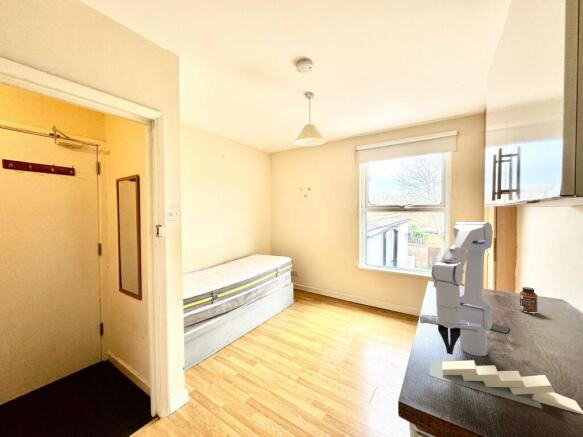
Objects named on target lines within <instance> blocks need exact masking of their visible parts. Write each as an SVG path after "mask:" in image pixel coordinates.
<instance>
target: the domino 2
mask: <svg viewBox="0 0 583 437" xmlns="http://www.w3.org/2000/svg"><path fill="white" fill-rule="evenodd" d="M497 371H498V374H499V377H500V380H501V381H484V383H485V386H486V387H525V385H524V383H523V380H522V378H521V377H522V376H521V373H520V372H519V370H497Z"/></svg>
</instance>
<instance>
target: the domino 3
mask: <svg viewBox="0 0 583 437" xmlns="http://www.w3.org/2000/svg"><path fill="white" fill-rule="evenodd" d="M521 378H522V380H523V383H524V385H525V387H510V390H511V391H512V393H513V395H516V394H534V393H552V392H554V393H556V391H555V389H554V388H553V386H552V384H551V383H550V381H549V380H548V378H547V376H546V375H545V374H539V375H530V376H529V375H527V376H521Z"/></svg>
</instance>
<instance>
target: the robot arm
mask: <svg viewBox="0 0 583 437" xmlns="http://www.w3.org/2000/svg"><path fill="white" fill-rule="evenodd" d="M452 232H453V236H454V242H453V245H452V246H449V247H447V248H446V250H445V252H444V254H443V255H442V257H441V259H440V261H438V262H436V263H434V264H433V265H432V267H431V268H432V269H431V272H430V273H431V274H430V275H431V279H432V281H433V287H434V288H435V294H436V295H435V300H436V302H435V303H436V315H431V314H420V315H419V323H421V324H430V325H436V326H437V331H438V333H439V335H440V336H441V338H442V341H443V343H444V346H445V348H446V354H448V355H452V356H453V355H454V349H455V346H456V343H457V344H458V345H459V349H461V350H462V351H464V352H465V353H468V354H470V355H473V356H479V357H483V356H484V357H485V356H487V355H488V337H487V331H490V330H489V329H491V327H492V323H493V324H494V322H493V321H494V316H493V308H492V306H491V304H490V303H488V302H487V301H486V300H485V299H484V298H482V297H483V296H482V295H483V282H484V281H483V279H484V277H483V276H484V260H485V253H486V250H487V249H490V248H492V244H493V233H494V232H493V225H492V224H491V223H490V222H489V221H480V222H479V221H478V222H477V221H476V222H475V221H474V222H470V221H469V222H463V221H461V222H460V221H457V222H456V223H454V225H453V231H452ZM464 267H465V270H464ZM464 272H465V273H464ZM464 274H465V275H464ZM464 276H465V277H464ZM463 279H464V291H463V294H462V295H461V293H460V290H461V287H460V285H461V284H462V282H463ZM449 337H450V338H449ZM458 339H459V341H458ZM457 341H458V342H457Z"/></svg>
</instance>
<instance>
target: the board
mask: <svg viewBox="0 0 583 437" xmlns="http://www.w3.org/2000/svg"><path fill="white" fill-rule="evenodd" d="M442 362H443V361H438V360H434V359H430V368H429V376H430V377H432V378H437V379H439V380H442V381H446V382H450V383H453V384H457V385H460V386H463V387H467V388H471V389H474V390H478V391H481V392H484V393H488V394H491V395H495V396H497V397H501V398H505V399H508V400H512V401H515V402H518V403H521V404H526V405H528V406H531V407H536V408H539V409H541V410H542V409H544V408H543V405H542V403H541V402H538V401H536V400H533V399H532V397H531V395H530V394H516V395H513V393H512V391H511V390H510V387H486V386H485V383H484V381H464V379H463V377H462V375H444V373H443V370H442Z"/></svg>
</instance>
